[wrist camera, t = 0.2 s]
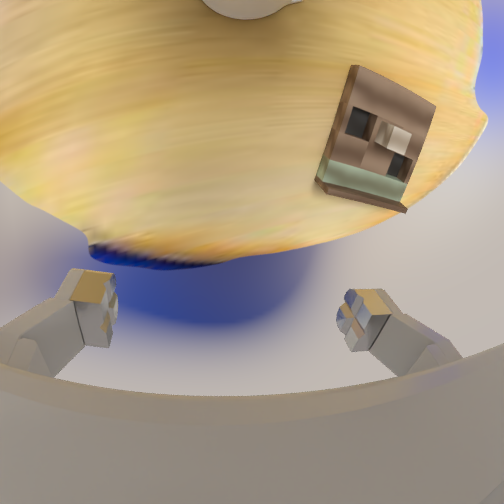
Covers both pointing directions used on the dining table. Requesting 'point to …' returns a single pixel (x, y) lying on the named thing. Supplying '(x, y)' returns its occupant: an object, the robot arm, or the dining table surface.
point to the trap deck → (373, 141)
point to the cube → (393, 137)
